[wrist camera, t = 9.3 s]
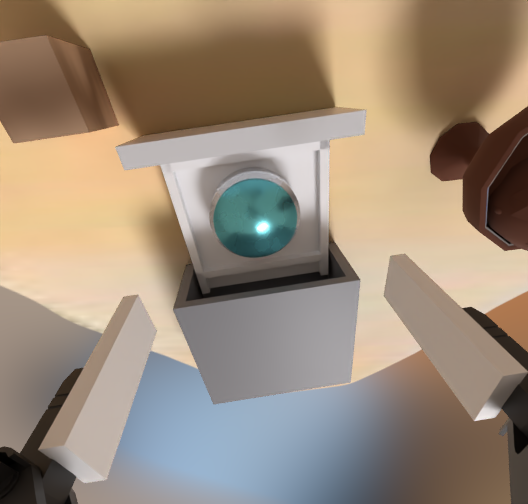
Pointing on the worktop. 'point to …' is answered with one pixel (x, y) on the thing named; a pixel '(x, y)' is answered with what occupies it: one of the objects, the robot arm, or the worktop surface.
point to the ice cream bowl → (490, 177)
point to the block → (50, 90)
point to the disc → (254, 212)
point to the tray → (242, 156)
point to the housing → (272, 331)
